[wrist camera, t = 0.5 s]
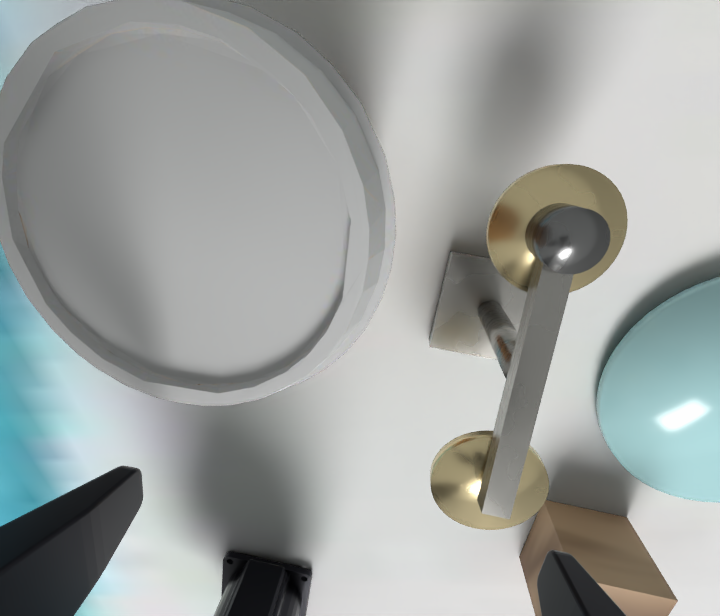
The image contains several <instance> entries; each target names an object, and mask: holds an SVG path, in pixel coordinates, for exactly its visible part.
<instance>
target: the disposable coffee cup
mask: <svg viewBox="0 0 720 616" xmlns="http://www.w3.org/2000/svg"><path fill="white" fill-rule="evenodd" d="M395 239H396V225H395V201H394V194H393V190H392V185H391V180H390V175H389V170H388V165H387V161H386V156H385V154H384V152H383V150H382V147H381V145H380V143H379V141H378V139H377V136H376V134H375V132H374V130H373V128H372V125H371V123H370V121H369V119H368V117H367V114H366V112H365V110H364V108H363V106H362V104H361V102H360V101H359V100H358V98H357V97H356V96H355V94H354V93H353V92H352V90H351V89H350V88H349V86H348V85H347V84H346V83H345V81H344V80H343V79H342V77H341V76H340V75H339V73H338V72H337V71H336V69H335V68H334V67H333V65H332V64H331V63H330V62H328V61H327V60H326V59H325V58H324V57H323V56H322V55H321V54H320V53H319V52H318V51H316V50H315V49H314V48H313V47H312V46H311V45H310V44H309V43H308V42H307V41H306V40H304V39H303V38H302V37H301V36H300V35H299V34H298V33H297V32H295V31H293V30H292V29H290V28H288V27H286V26H284V25H283V24H281V23H279V22H277V21H275V20H274V19H272V18H270V17H268V16H266V15H265V14H263V13H261V12H259V11H257V10H256V9H254V8H252V7H250V6H247V5H243V4H240V3H236V2H233V1H229V0H114V1H110V2H105V3H101V4H96V5H92V6H87V7H85V8H83V9H81V10H80V11H78V12H76V13H74V14H73V15H71V16H69V17H68V18H66V19H64V20H62V21H61V22H59V23H57V24H56V25H54V26H53V27H52V28H50V29H49V30H48V31H46V32H45V33H44V34H42V35H41V36H40V37H38V38H37V39H36V40H34V41H33V42H32V43H31V44H30V45H29V47H28V48H27V49H26V51H25V52H24V54H23V55H22V56H21V58H20V59H19V60H18V62H17V63H16V65H15V66H14V67H13V69H12V70H11V72H10V73H9V74H8V76H7V77H6V80H5V82H4V85H3V87H2V90H1V92H0V242H1V244H2V247H3V250H4V252H5V255H6V258H7V260H8V263H9V266H10V267H11V269H12V271H13V273H14V274H15V276H16V278H17V280H18V282H19V283H20V285H21V287H22V289H23V291H24V292H25V294H26V296H27V298H28V299H29V301H30V302H31V303H32V304H33V306H34V307H35V308H36V309H37V311H38V312H39V313H40V314H41V316H42V317H43V318H44V319H45V321H46V322H47V323H48V325H49V326H50V327H51V328H52V330H53V331H54V332H55V333H56V334H57V335H58V336H59V337H60V338H62V339H63V340H64V341H65V342H66V343H67V344H68V345H69V346H70V347H71V348H72V349H73V350H74V351H75V352H76V353H77V354H78V355H80V356H81V357H82V358H84V359H85V360H86V361H88V362H89V363H90V364H92V365H93V366H94V367H96V368H97V369H99V370H101V371H102V372H104V373H106V374H107V375H109V376H111V377H112V378H114V379H116V380H118V381H119V382H121V383H123V384H124V385H126V386H129V387H131V388H134V389H136V390H139V391H141V392H144V393H146V394H149V395H151V396H154V397H157V398H161V399H165V400H169V401H173V402H177V403H184V404H192V405H199V406H223V405H235V404H240V403H245V402H249V401H254V400H259V399H263V398H265V397H267V396H270V395H272V394H274V393H277V392H279V391H281V390H284V389H286V388H288V387H291V386H293V385H296V384H298V383H301V382H303V381H305V380H307V379H309V378H311V377H312V376H314V375H316V374H318V373H320V372H322V371H323V370H325V369H326V368H327V367H328V366H330V365H331V364H332V363H333V362H335V361H336V360H337V359H338V358H339V357H341V356H342V355H343V354H344V353H345V352H347V350H348V349H349V348H350V347H351V346H352V344H353V343H354V342H355V341H356V340H357V339H358V337H359V336H360V335H361V334H362V333H363V332H364V330H365V329H366V327H367V325H368V323H369V321H370V319H371V318H372V316H373V314H374V312H375V310H376V308H377V307H378V305H379V303H380V301H381V299H382V297H383V293H384V290H385V287H386V284H387V281H388V278H389V275H390V271H391V266H392V259H393V253H394V246H395Z"/></svg>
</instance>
